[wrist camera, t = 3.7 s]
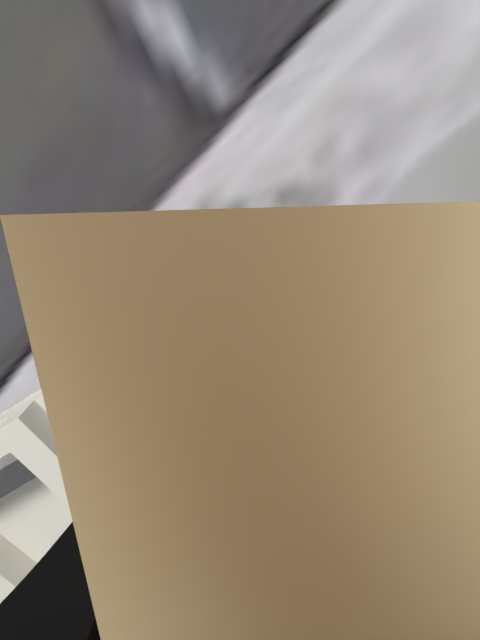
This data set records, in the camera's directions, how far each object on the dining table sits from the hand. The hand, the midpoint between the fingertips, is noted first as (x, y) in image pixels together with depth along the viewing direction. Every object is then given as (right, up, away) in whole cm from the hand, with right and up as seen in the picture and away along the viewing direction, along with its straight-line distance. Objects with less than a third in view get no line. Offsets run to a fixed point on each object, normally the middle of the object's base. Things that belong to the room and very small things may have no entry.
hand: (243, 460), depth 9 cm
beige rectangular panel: (0, +1, +2) cm, 2 cm away
